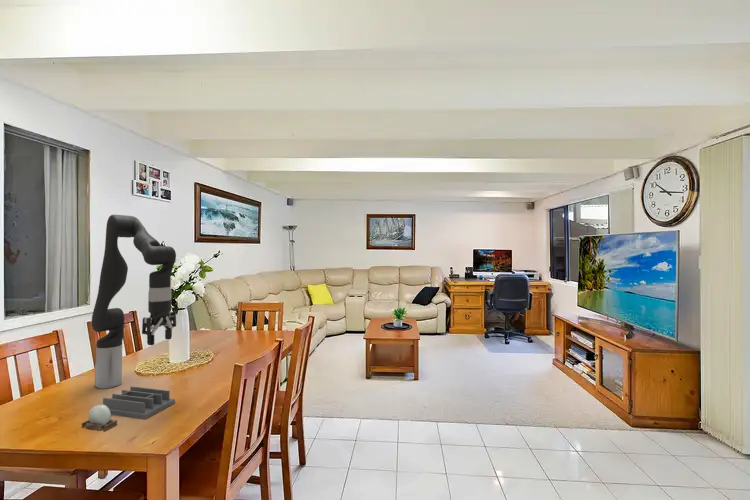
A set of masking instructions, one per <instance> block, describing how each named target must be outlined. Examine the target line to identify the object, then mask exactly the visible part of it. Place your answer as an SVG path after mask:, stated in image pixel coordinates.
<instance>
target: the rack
mask: <svg viewBox="0 0 750 500" xmlns="http://www.w3.org/2000/svg"><path fill="white" fill-rule="evenodd" d="M102 404H103V405H106V406H107V407H108V408H109V410H110V412H111V416H119V417H120V416H121V417H126V418H135V419H141V420H146V419H148V418H150V417H152V416H154V415H155V414H157V413H159V412H161V411H163V410H164V409H167V408H169V407H170V406H172V405H174V404H176V399H174V398H171V394H170V390H167V389H166V390H164V389H159V388H151V387H148V388H147V387H141V386H140V387H139V386H132V385H131V386H129V390H127V389H122V390H121V393H120V394H118V393H112V397H111V398H110V397H109V398H108V397H103V398H102Z"/></svg>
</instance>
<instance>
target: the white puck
mask: <svg viewBox="0 0 750 500" xmlns="http://www.w3.org/2000/svg"><path fill="white" fill-rule="evenodd" d="M110 419H111V420H112V414H111V412H110V410H109V408H108V407H107V406H106V405H103V403H101V404H98V405H95V406H93V407H91V408H90V410H89V412H88V420H89V421H90V423H91V424H97V425H102V427H104V426H105V425H107V424H108V423H109V421H110Z"/></svg>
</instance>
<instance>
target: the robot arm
mask: <svg viewBox="0 0 750 500" xmlns="http://www.w3.org/2000/svg"><path fill="white" fill-rule="evenodd" d="M119 238H133V246H134V247H135V248H136V249H137V250H138V251H139V252H140V253H141V254H142V257H143V261H144V262H145V263H146V264H147V265H150V266H161V267H160V268H159V270H155V271H152V272H150V273H149V278H148V279H149V280H148V287H149V288H148V295H147V296H148V297H147V298H148V301H147V302H148V303H147V305H148V310H147V311H148V313H149V314H150V315H149V317H143V318H142V323H141V326H142V327H141V334H142V335H146V340H147V341H146V343H147V345H148V346H154V345H155V332H156V331H157V330H159V328H160V327H162V326H163V327H164V328H165V329H164V338H165V340H171V339H172V336H173V328H175V327H177V313H176V311H172V288H171V287H172V286H171V285H172V284H171V283H172V282H171V277H172V272H173V268H174V266H175V263H176V258H177V253H176V250H175V249H174V248H173V246H168V245H161V243H160V242H159V241H158V240H157V239H156V238H155V237H153V236H152V235H150V233H149V232H148V231H147V229H146V228H145V226H144V225H143V223H142V222H141V220H139V218H137V217H136V216H133V215H127V214H126V215H125V214H110V216H109V217H108V219H107V221H106V227H105V244H104V252H103V253H104V254H103V260H102V264H101V268H100V269H101V270H100V275H99V276H100V277H99V285H98V291H97V296H96V300H95V302H94V303H95V304H94V306H93V307H94V308H93V311H92V315H91V327H92V330H93V331H94V332H96V333H101V332H102V333H103V332H107V331H109V332H108V333H107V334H106V335H104V336H103V337H101V338H98V339H97V340H96V343H95V344H96V347H95V348H96V356H95V357H96V362H95V364H94V387H96V388H97V389H104V390H105V389H112V388H115V387H119V386H120V385H122V384H123V340H124V334H125V332H124V331H125V313H124V312H123V310H122V309H121V308H119V307H113V308H109V306H110V304H111V302H112V300H113V299H114V297H116V295H117V294H118V293H119V292H120V291H121V290H122V288H123V287H124V286H125V283H126V281H127V277H128V271H129V268H128V264H127V262H126V260H125V258H124V256H123V254H122V253H121V252H120V249H119V244H118V239H119Z"/></svg>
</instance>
